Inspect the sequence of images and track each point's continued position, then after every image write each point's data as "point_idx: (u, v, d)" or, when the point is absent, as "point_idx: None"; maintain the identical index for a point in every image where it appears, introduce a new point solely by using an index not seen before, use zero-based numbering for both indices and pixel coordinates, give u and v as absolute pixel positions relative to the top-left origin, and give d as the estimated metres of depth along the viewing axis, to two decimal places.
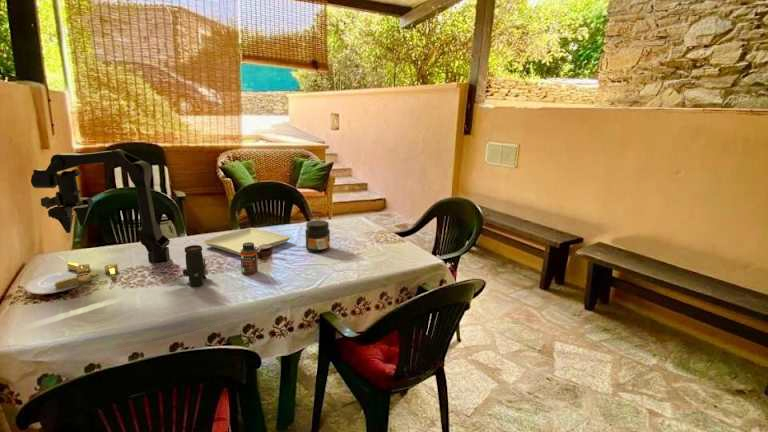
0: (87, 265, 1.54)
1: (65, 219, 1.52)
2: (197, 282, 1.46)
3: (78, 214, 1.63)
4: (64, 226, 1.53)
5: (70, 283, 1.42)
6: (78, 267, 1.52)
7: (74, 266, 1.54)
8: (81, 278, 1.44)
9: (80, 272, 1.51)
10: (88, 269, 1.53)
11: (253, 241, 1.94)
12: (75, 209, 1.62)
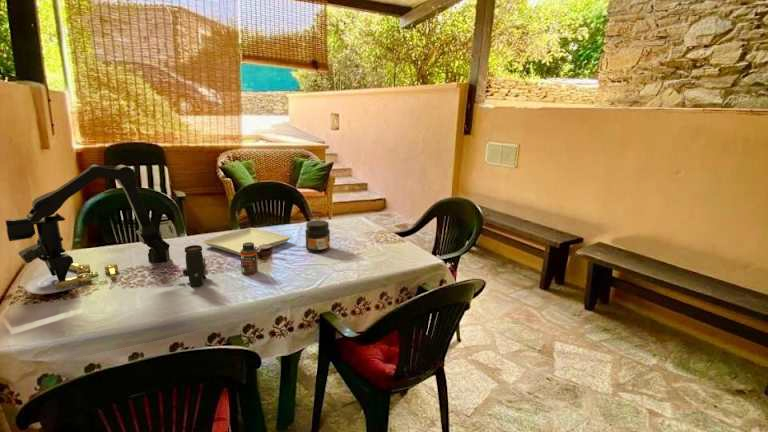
0: (87, 265, 1.54)
1: (61, 268, 1.40)
2: (197, 282, 1.46)
3: None
4: (59, 276, 1.41)
5: (70, 283, 1.42)
6: (78, 267, 1.52)
7: (74, 266, 1.54)
8: (81, 278, 1.44)
9: (80, 272, 1.51)
10: (88, 269, 1.53)
11: (253, 241, 1.94)
12: (44, 259, 1.45)
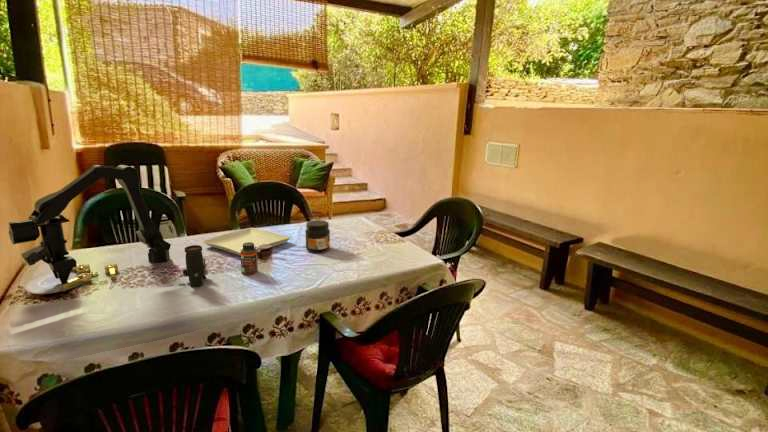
0: (87, 265, 1.54)
1: (64, 269, 1.39)
2: (197, 282, 1.46)
3: None
4: (62, 277, 1.39)
5: (74, 284, 1.42)
6: (78, 267, 1.52)
7: None
8: (84, 278, 1.44)
9: (80, 272, 1.51)
10: (88, 269, 1.53)
11: (253, 241, 1.94)
12: (48, 261, 1.42)
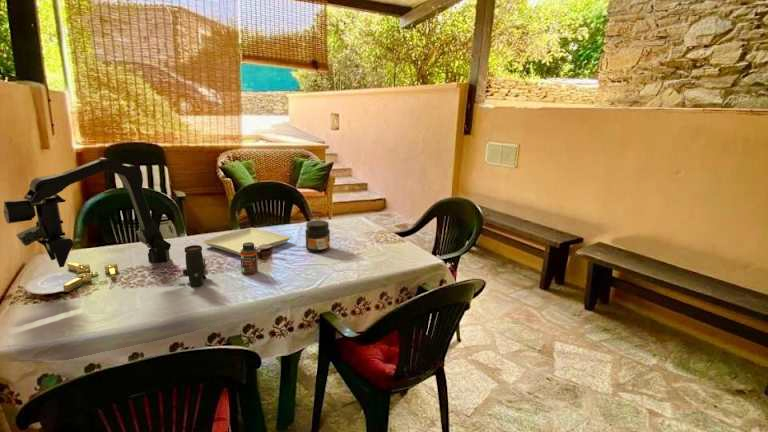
0: (87, 265, 1.54)
1: (61, 251, 1.35)
2: (197, 282, 1.46)
3: None
4: (59, 260, 1.36)
5: (76, 284, 1.42)
6: (78, 267, 1.52)
7: (74, 266, 1.54)
8: (85, 277, 1.44)
9: (80, 272, 1.51)
10: (88, 269, 1.53)
11: (253, 241, 1.94)
12: (43, 242, 1.40)
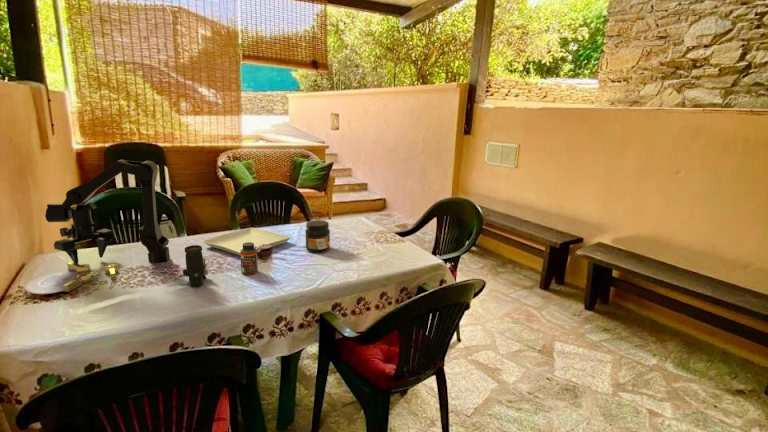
0: (87, 265, 1.54)
1: None
2: (197, 282, 1.46)
3: (98, 246, 1.64)
4: (72, 258, 1.55)
5: (76, 284, 1.42)
6: (78, 267, 1.52)
7: (74, 266, 1.54)
8: (85, 277, 1.44)
9: (80, 272, 1.51)
10: (88, 269, 1.53)
11: (253, 241, 1.94)
12: (97, 240, 1.64)
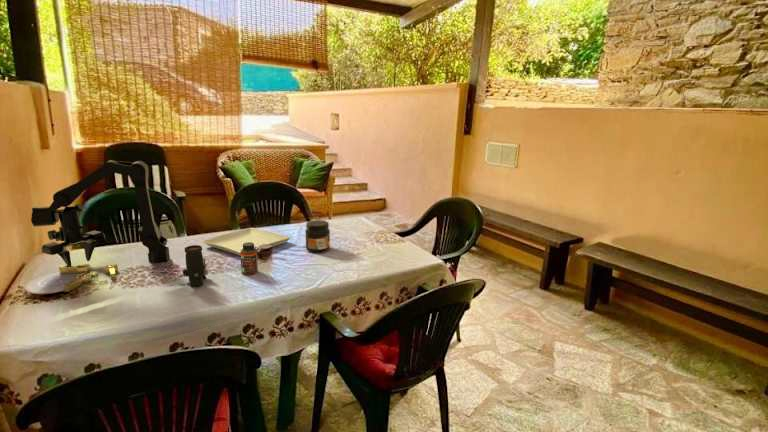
0: (86, 265, 1.54)
1: (64, 254, 1.52)
2: (197, 282, 1.46)
3: (85, 249, 1.59)
4: (64, 260, 1.53)
5: (76, 284, 1.42)
6: (79, 267, 1.52)
7: (71, 268, 1.52)
8: (85, 277, 1.44)
9: (83, 272, 1.52)
10: (89, 268, 1.54)
11: (253, 241, 1.94)
12: (83, 244, 1.60)
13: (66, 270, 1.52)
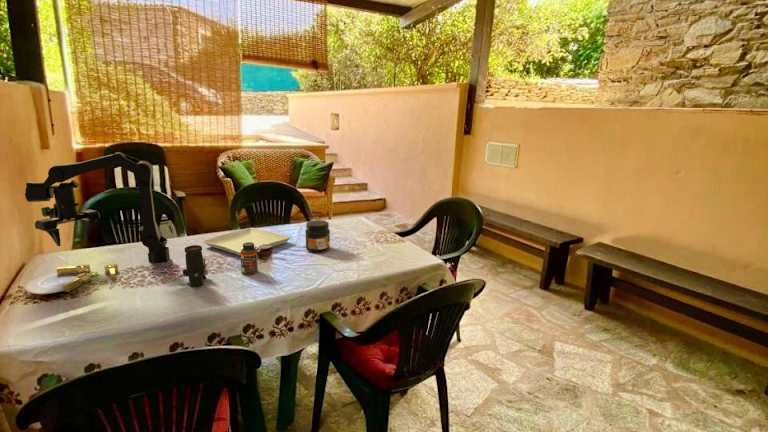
0: (86, 264, 1.54)
1: (53, 232, 1.48)
2: (197, 282, 1.46)
3: (83, 227, 1.58)
4: (53, 239, 1.49)
5: (76, 284, 1.42)
6: (80, 267, 1.52)
7: (70, 269, 1.52)
8: (85, 277, 1.44)
9: (84, 271, 1.52)
10: (89, 268, 1.54)
11: (253, 241, 1.94)
12: (81, 221, 1.58)
13: (64, 271, 1.51)
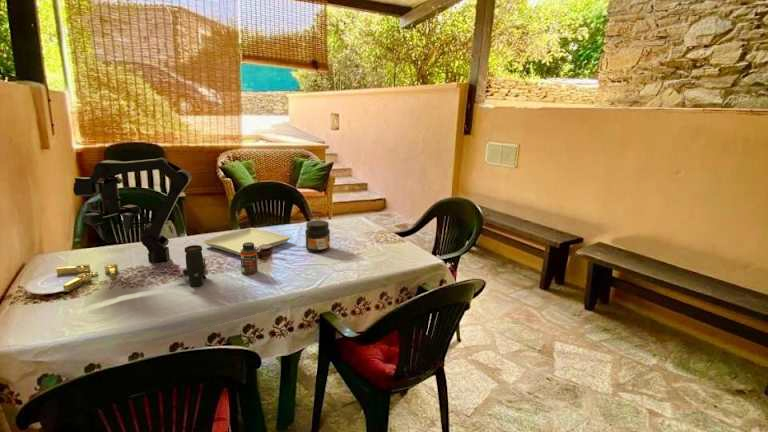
0: (86, 264, 1.54)
1: (98, 226, 1.54)
2: (197, 282, 1.46)
3: (124, 221, 1.64)
4: (98, 232, 1.55)
5: (76, 284, 1.42)
6: (80, 267, 1.52)
7: (70, 269, 1.52)
8: (85, 277, 1.44)
9: (84, 271, 1.52)
10: (89, 268, 1.54)
11: (253, 241, 1.94)
12: (123, 216, 1.64)
13: (64, 271, 1.51)
